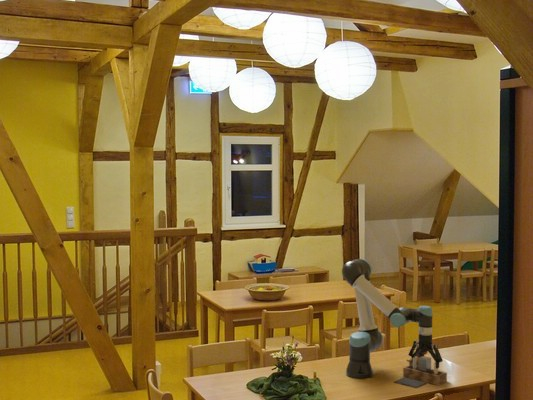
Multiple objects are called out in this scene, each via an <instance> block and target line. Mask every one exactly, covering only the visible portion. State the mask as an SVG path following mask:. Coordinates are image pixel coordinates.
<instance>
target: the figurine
mask: <svg viewBox="0 0 533 400" xmlns="http://www.w3.org/2000/svg"><path fill="white" fill-rule="evenodd" d="M418 347H419V344H418V345H417V346H416V348H415V351H416V350H417V349H418ZM428 353H429V352H428V351H425V350H422V349H421V350H420V352H419V353H418V354H417V355H416V356H415V357H416V365H417V366H419V358H420V357H422V356H425V355H427V354H428ZM406 362H408V366H409V365H411V364H413V363H412V357H411V358H410V359H406Z"/></svg>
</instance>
